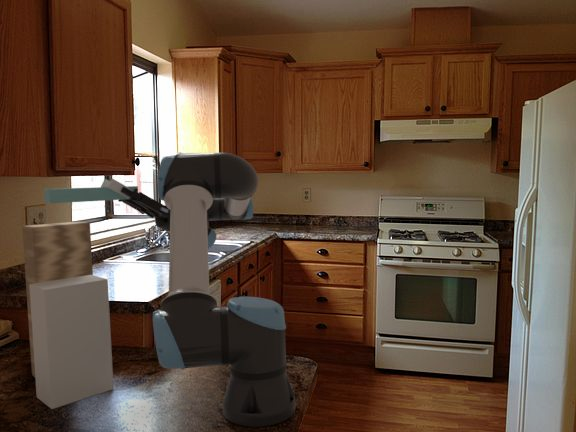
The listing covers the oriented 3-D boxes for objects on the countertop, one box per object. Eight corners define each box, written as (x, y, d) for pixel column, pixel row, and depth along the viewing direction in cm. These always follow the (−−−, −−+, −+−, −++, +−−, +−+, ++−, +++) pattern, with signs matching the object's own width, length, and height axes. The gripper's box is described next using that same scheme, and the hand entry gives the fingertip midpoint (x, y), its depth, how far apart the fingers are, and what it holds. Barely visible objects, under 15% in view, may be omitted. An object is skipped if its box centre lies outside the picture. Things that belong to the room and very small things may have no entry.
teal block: (132, 198, 145) (131, 186, 145) (138, 198, 143) (137, 186, 142) (44, 203, 128) (43, 189, 128) (50, 203, 126) (49, 189, 125)
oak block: (86, 360, 139) (78, 221, 136) (97, 366, 134) (89, 222, 131) (32, 375, 129) (22, 226, 126) (42, 382, 124) (32, 227, 121)
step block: (96, 378, 126) (90, 274, 124) (113, 388, 119) (107, 279, 117) (36, 397, 116) (29, 284, 114) (51, 409, 109) (44, 289, 107)
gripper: (184, 233, 146) (115, 195, 131) (153, 230, 158) (87, 195, 142) (193, 210, 148) (127, 170, 133) (162, 208, 160) (98, 171, 145)
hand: (106, 183), depth 138 cm, fingers closed on teal block, 3 cm apart
